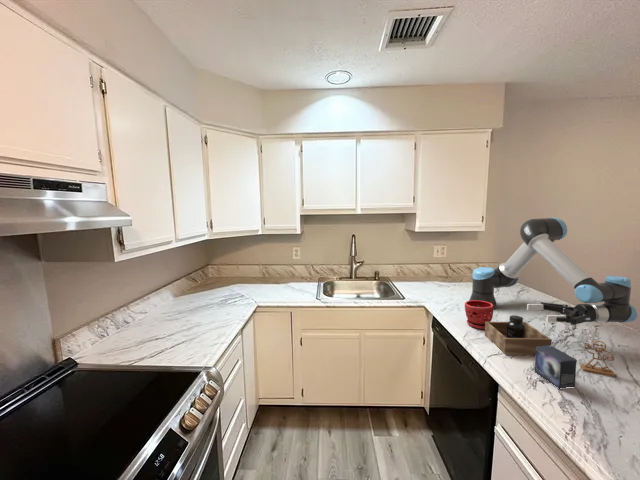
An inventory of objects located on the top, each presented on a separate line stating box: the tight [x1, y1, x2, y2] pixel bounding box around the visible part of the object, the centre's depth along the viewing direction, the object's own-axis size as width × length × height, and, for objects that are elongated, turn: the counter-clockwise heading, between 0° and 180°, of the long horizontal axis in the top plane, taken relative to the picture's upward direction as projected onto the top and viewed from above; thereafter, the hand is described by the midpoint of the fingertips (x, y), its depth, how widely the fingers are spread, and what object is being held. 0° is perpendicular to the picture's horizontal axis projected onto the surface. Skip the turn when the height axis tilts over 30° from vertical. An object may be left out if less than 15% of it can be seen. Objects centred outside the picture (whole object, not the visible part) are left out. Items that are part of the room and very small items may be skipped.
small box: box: [534, 344, 578, 390], centre depth 101 cm, size 11×6×10 cm, turn 5°
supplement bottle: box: [507, 314, 526, 338], centre depth 126 cm, size 7×7×12 cm
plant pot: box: [464, 300, 494, 330], centre depth 148 cm, size 13×13×12 cm
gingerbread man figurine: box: [579, 340, 617, 378], centre depth 105 cm, size 9×4×12 cm, turn 60°
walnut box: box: [484, 321, 553, 356], centre depth 127 cm, size 18×18×7 cm
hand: (536, 312), depth 125 cm, fingers open, 13 cm apart
